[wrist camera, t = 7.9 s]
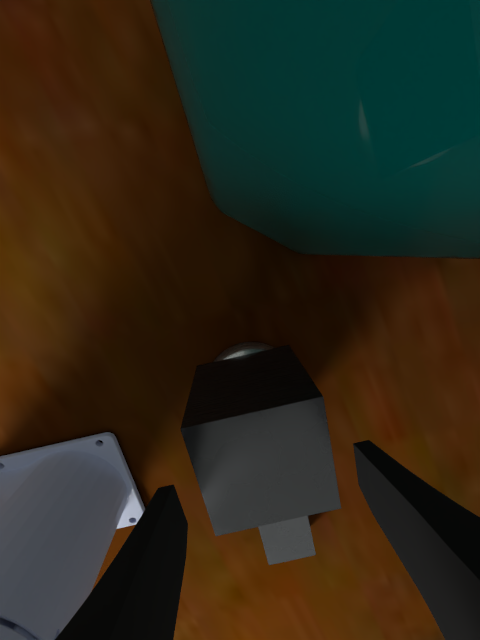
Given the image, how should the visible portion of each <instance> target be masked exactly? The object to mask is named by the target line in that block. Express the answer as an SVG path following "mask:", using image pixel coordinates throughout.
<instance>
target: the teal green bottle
mask: <svg viewBox="0 0 480 640" xmlns="http://www.w3.org/2000/svg"><path fill="white" fill-rule="evenodd" d="M150 3H151V6H152V9H153V12H154V16H155V19H156V22H157V25H158V29H159V32H160V35H161V38H162V42H163V45H164V48H165V51H166V55H167V58H168V61H169V64H170V68H171V71H172V74H173V77H174V81H175V84H176V87H177V90H178V94H179V97H180V100H181V103H182V107H183V110H184V113H185V116H186V120H187V123H188V126H189V130H190V133H191V136H192V139H193V143H194V146H195V149H196V152H197V156H198V159H199V162H200V165H201V169H202V172H203V175H204V178H205V182H206V185H207V188H208V191H209V194H210V197H211V200H212V201H213V202H214V203H215V205H216V206H217V207H218V208H219V209H220V211H221V212H222V213H224V214H226V215H228V216H230V217H232V218H234V219H235V220H237V221H239V222H241V223H243V224H245V225H247V226H249V227H250V228H252V229H254V230H256V231H258V232H260V233H262V234H263V235H265V236H267V237H269V238H271V239H273V240H275V241H277V242H278V243H280V244H282V245H284V246H286V247H288V248H290V249H291V250H293V251H295V252H297V253H299V254H312V255H347V256H383V257H420V258H456V259H480V0H150Z"/></svg>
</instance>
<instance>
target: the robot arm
mask: <svg viewBox="0 0 480 640" xmlns="http://www.w3.org/2000/svg"><path fill="white" fill-rule="evenodd" d="M98 440H101V441H102V442H103V443H101V442H99V441H98ZM353 445H354V453H355V460H356V467H357V475H358V482H359V486H360V488H361V490H362V493H363V495H364V497H365V499H366V501H367V503H368V505H369V507H370V509H371V511H372V513H373V515H374V517H375V518H376V520H377V522H378V523H379V525H380V527H381V528H382V530H383V532H384V533H385V535H386V537H387V538H388V540H389V542H390V543H391V545H392V547H393V548H394V550H395V552H396V553H397V555H398V556H399V558H400V560H401V561H402V563H403V565H404V566H405V568H406V570H407V571H408V573H409V575H410V576H411V578H412V579H413V581H414V583H415V584H416V586H417V588H418V589H419V591H420V593H421V595H422V596H423V598H424V600H425V602H426V603H427V605H428V607H429V609H430V611H431V613H432V615H433V617H434V618H435V620H436V622H437V624H438V626H439V628H440V630H441V632H442V634H443V636H444V638H445V640H480V517H478V516H477V515H475V514H473V513H472V512H470V511H468V510H467V509H465V508H464V507H462V506H460V505H459V504H457V503H456V502H454V501H453V500H451V499H450V498H448V497H447V496H445V495H443V494H442V493H440V492H439V491H437V490H436V489H435V488H433V487H432V486H430V485H429V484H427V483H426V482H424V481H423V480H422V479H420V478H419V477H417V476H416V475H415V474H413V473H412V472H410V471H409V470H408V469H406V468H405V467H404V466H402V465H401V464H400V463H398V462H397V461H396V460H394V459H393V458H392V457H390V456H389V455H388V454H386V453H385V452H384V451H382V450H381V449H380V448H379V447H377V446H376V445H375V444H373V443H372V442H371V441H369V440H367V441H362V442H358V443H354V444H353ZM131 525H136V526H135V527H134V529H133V530H132V532H131V534H130V535H129V537H128V538H127V540H126V541H125V543H124V545H123V546H122V548H121V549H120V551H119V552H118V554H117V555H116V557H115V558H114V560H113V561H112V563H111V564H110V566H109V567H108V569H107V570H106V572H105V573H104V575H103V576H102V578H101V579H100V581H99V582H98V583H97V585H96V586H95V588H94V589H93V590H92V588H93V586H94V583H95V581H96V578H97V576H98V573H99V571H100V568H101V566H102V563H103V561H104V558H105V556H106V553H107V551H108V548H109V546H110V543H111V541H112V538H113V536H114V533H115V531H116V529H118V528H123V527H127V526H131ZM187 530H188V523H187V520H186V517H185V515H184V512H183V509H182V506H181V504H180V501H179V498H178V495H177V493H176V490H175V487H174V485H169V486H165V487H161V488H158V490H157V491H156V493H155V494H154V496H153V498H152V499H151V501H150V502H149V504H148V506H147V507H146V509H145V507H144V505H143V502H142V500H141V497H140V495H139V492H138V490H137V488H136V485H135V483H134V480H133V478H132V475H131V473H130V470H129V468H128V466H127V463H126V461H125V458H124V456H123V453H122V451H121V449H120V446H119V444H118V441H117V439H116V436H115V435H114V434H113V433H110V432H105V433H101V434H97V435H92V436H88V437H83V438H79V439H75V440H70V441H66V442H61V443H57V444H53V445H48V446H44V447H40V448H35V449H31V450H26V451H22V452H18V453H13V454H9V455H4V456H0V640H173V637H174V630H175V624H176V618H177V611H178V605H179V599H180V592H181V586H182V580H183V573H184V566H185V559H186V548H187ZM91 591H92V592H91Z"/></svg>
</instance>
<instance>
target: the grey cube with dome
mask: <svg viewBox="0 0 480 640" xmlns="http://www.w3.org/2000/svg"><path fill="white" fill-rule="evenodd" d="M181 432H182V435H183V438H184V441H185V444H186V447H187V450H188V453H189V456H190V459H191V462H192V465H193V468H194V471H195V474H196V477H197V481H198V484H199V487H200V490H201V493H202V496H203V499H204V502H205V505H206V508H207V511H208V514H209V517H210V520H211V523H212V526H213V529H214V532H215V535H216V536H218V535H223V534H227V533H232V532H236V531H241V530H245V529H250V528H254V527H259V526H263V525H268V524H272V523H277V522H281V521H286V520H290V519H295V518H299V517H304V516H308V515H313V514H317V513H322V512H326V511H331V510H335V509H340V508H341V505H340V499H339V493H338V487H337V480H336V474H335V468H334V462H333V455H332V449H331V443H330V437H329V430H328V424H327V418H326V412H325V405H324V399H323V396H322V394H321V393H320V391H319V390H318V388H317V387H316V385H315V384H314V382H313V381H312V379H311V378H310V376H309V375H308V373H307V372H306V370H305V369H304V367H303V366H302V364H301V363H300V361H299V360H298V358H297V357H296V355H295V354H294V352H293V351H292V349H291V348H290V346H289V345H286V346H282V347H277V348H273V349H268V350H264V351H260V352H255V353H251V354H247V355H242V356H238V357H233V358H229V359H225V360H220V361H216V362H212V363H207V364H203V365H198V366H197V368H196V372H195V375H194V379H193V383H192V387H191V391H190V394H189V398H188V402H187V406H186V410H185V413H184V417H183V421H182V425H181Z"/></svg>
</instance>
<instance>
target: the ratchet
mask: <svg viewBox="0 0 480 640" xmlns="http://www.w3.org/2000/svg"><path fill="white" fill-rule="evenodd" d="M273 348H274V347H272V346H270V345H267V344H265V343H260V342H244V343H239V344H236V345H234V346H231V347H229V348H228V349H226V350H224V351H223V352H222V353H221V354H220V355H219V356H218V357H217V358H216V359H215V360H214V362H216V361H220V360H225V359H229V358H233V357H238V356H242V355H247V354H251V353H255V352H260V351H264V350H268V349H273ZM259 531H260V534H261V538H262V542H263V545H264V549H265V553H266V556H267V560H268V563H269V565H272V564H276V563H281V562H285V561H290V560H294V559H299V558H304V557H308V556H313V555H316V553H315V549H314V544H313V539H312V534H311V529H310V524H309V520H308V516H304V517H299V518H295V519H290V520H286V521H281V522H277V523H272V524H268V525H263V526H259Z"/></svg>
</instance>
